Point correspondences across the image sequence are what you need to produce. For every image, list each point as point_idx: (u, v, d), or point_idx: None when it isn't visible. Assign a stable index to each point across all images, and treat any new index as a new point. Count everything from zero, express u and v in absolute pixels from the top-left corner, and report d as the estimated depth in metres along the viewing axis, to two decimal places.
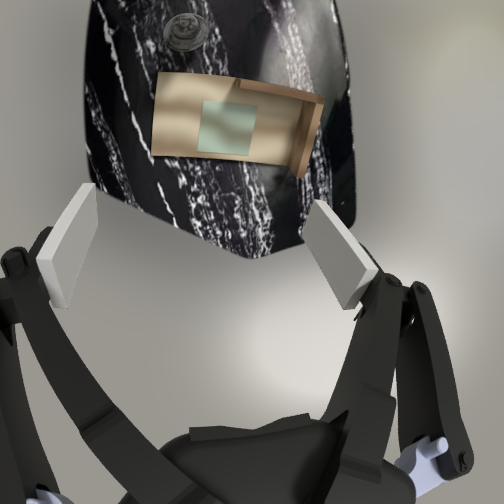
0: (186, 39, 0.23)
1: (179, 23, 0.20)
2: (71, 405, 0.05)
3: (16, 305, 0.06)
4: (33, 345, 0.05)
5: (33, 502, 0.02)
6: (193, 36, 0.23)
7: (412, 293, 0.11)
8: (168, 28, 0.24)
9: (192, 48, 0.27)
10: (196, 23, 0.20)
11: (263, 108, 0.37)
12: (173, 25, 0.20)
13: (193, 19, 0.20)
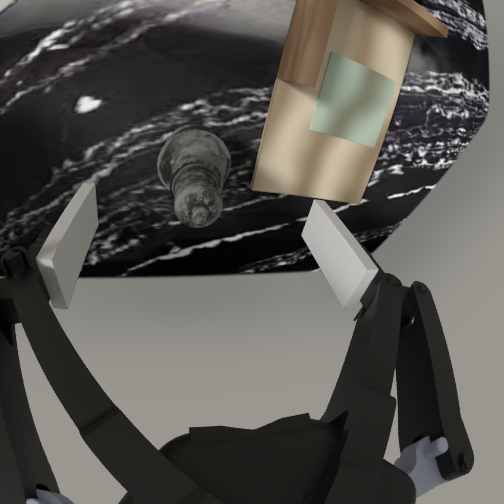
0: (220, 182, 0.18)
1: None
2: (71, 405, 0.05)
3: (16, 305, 0.06)
4: (33, 345, 0.05)
5: (33, 502, 0.02)
6: (215, 172, 0.17)
7: (412, 293, 0.11)
8: None
9: (226, 153, 0.20)
10: (199, 189, 0.14)
11: (334, 44, 0.18)
12: None
13: (189, 197, 0.14)
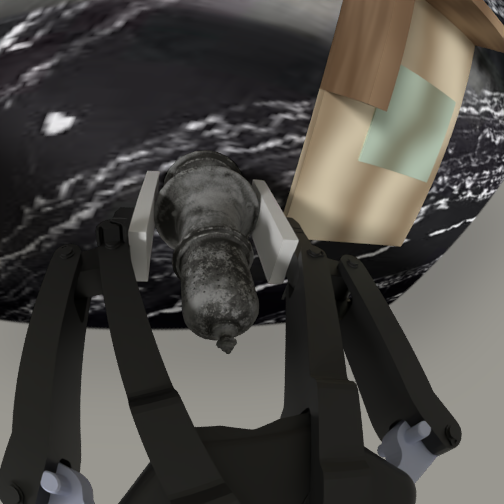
0: (249, 257, 0.12)
1: None
2: (129, 376, 0.06)
3: (101, 272, 0.08)
4: (109, 312, 0.07)
5: (51, 476, 0.03)
6: (242, 243, 0.11)
7: (343, 270, 0.12)
8: None
9: (253, 200, 0.15)
10: (224, 296, 0.09)
11: None
12: None
13: (208, 308, 0.09)
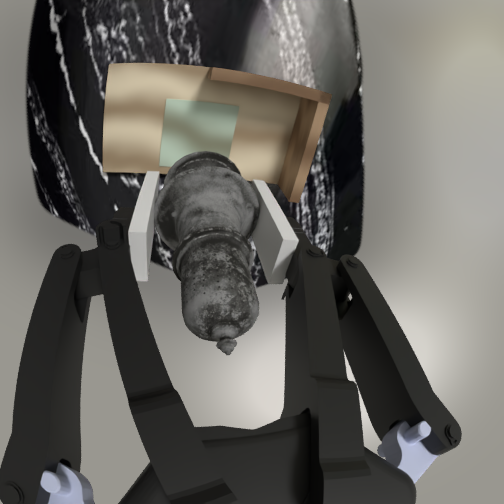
0: (249, 258, 0.12)
1: None
2: (129, 376, 0.06)
3: (101, 272, 0.08)
4: (109, 312, 0.07)
5: (51, 476, 0.03)
6: (243, 245, 0.11)
7: (343, 270, 0.12)
8: None
9: (253, 201, 0.15)
10: (224, 298, 0.09)
11: (247, 108, 0.28)
12: None
13: (208, 309, 0.09)
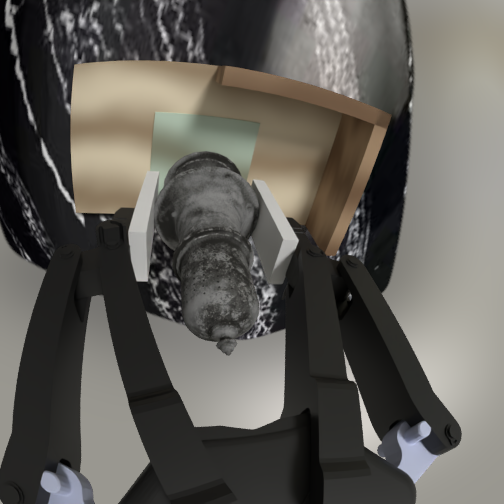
0: (249, 258, 0.12)
1: None
2: (129, 376, 0.06)
3: (101, 272, 0.08)
4: (109, 312, 0.07)
5: (51, 476, 0.03)
6: (242, 245, 0.11)
7: (343, 270, 0.12)
8: None
9: (253, 201, 0.15)
10: (224, 298, 0.09)
11: (270, 126, 0.20)
12: None
13: (208, 309, 0.09)
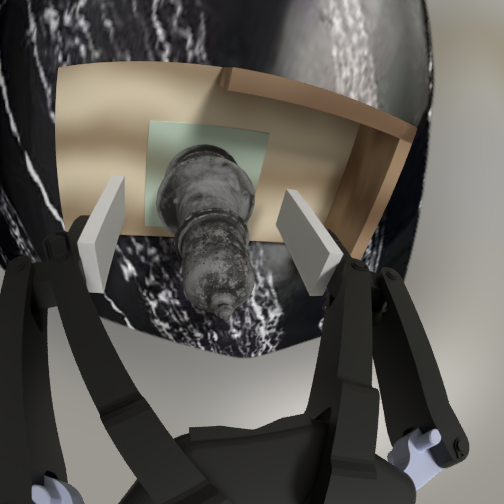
0: (245, 238, 0.13)
1: None
2: (96, 389, 0.05)
3: (53, 286, 0.07)
4: (66, 327, 0.06)
5: (39, 489, 0.03)
6: (239, 224, 0.12)
7: (382, 281, 0.12)
8: None
9: (249, 188, 0.16)
10: (222, 267, 0.10)
11: (281, 137, 0.18)
12: None
13: (207, 278, 0.10)
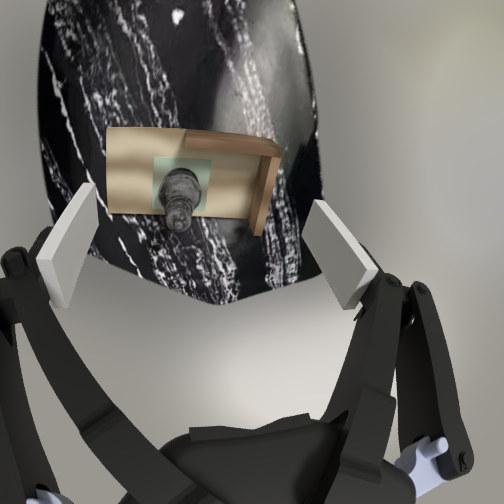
0: (192, 206, 0.32)
1: None
2: (71, 405, 0.05)
3: (16, 305, 0.06)
4: (33, 345, 0.05)
5: (33, 502, 0.02)
6: (189, 201, 0.31)
7: (412, 293, 0.11)
8: None
9: (198, 187, 0.34)
10: (178, 212, 0.28)
11: (218, 161, 0.37)
12: (180, 231, 0.30)
13: (173, 216, 0.28)
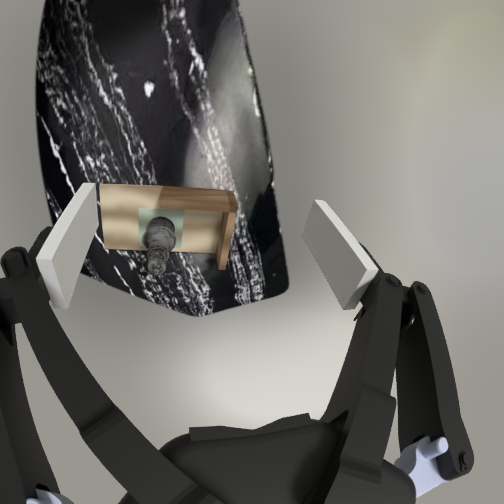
0: (167, 254, 0.42)
1: None
2: (71, 405, 0.05)
3: (16, 305, 0.06)
4: (33, 345, 0.05)
5: (33, 502, 0.02)
6: (164, 250, 0.41)
7: (412, 293, 0.11)
8: None
9: (173, 235, 0.44)
10: (155, 262, 0.38)
11: (189, 211, 0.46)
12: (158, 274, 0.40)
13: (152, 265, 0.38)
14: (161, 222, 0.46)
